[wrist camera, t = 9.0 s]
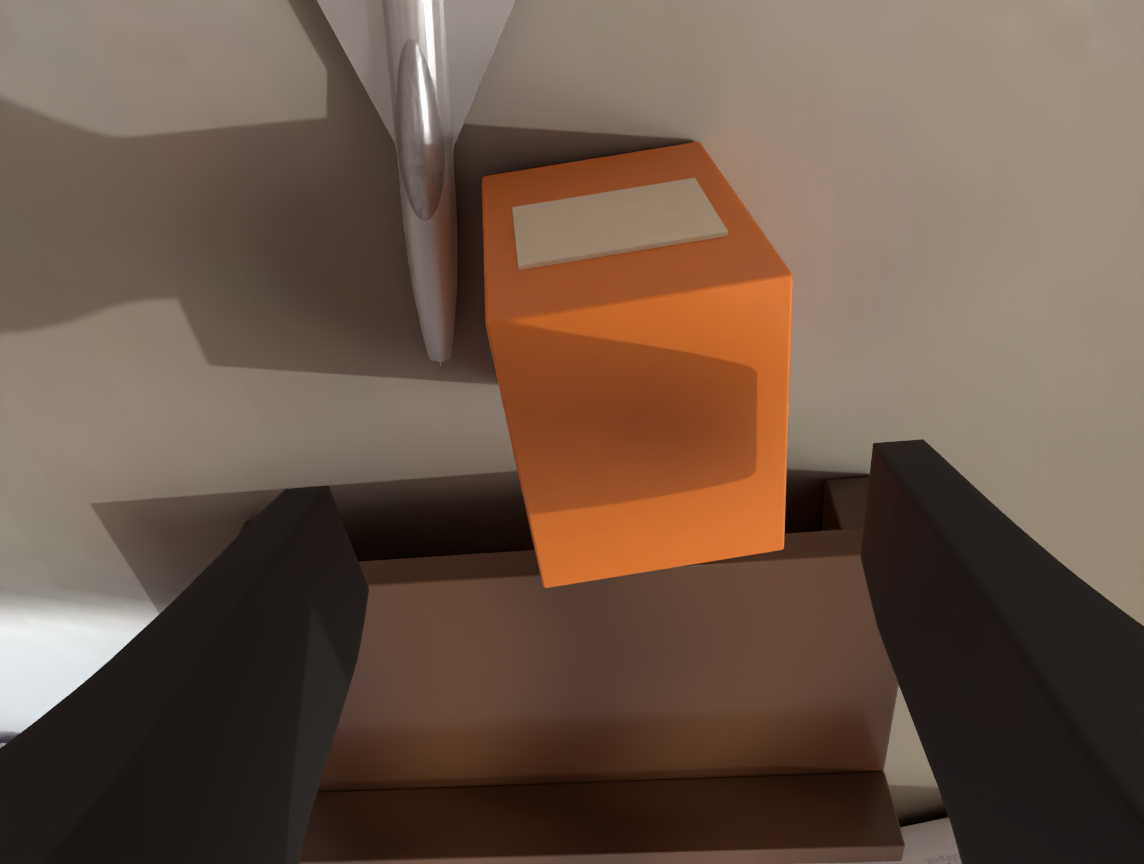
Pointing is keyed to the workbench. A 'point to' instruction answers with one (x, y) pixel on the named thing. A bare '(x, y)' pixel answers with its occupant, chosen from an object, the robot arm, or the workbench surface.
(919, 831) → the white boxy piece
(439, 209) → the toy airplane
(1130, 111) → the workbench surface
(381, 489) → the workbench surface
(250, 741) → the robot arm
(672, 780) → the shelf
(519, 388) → the packet
